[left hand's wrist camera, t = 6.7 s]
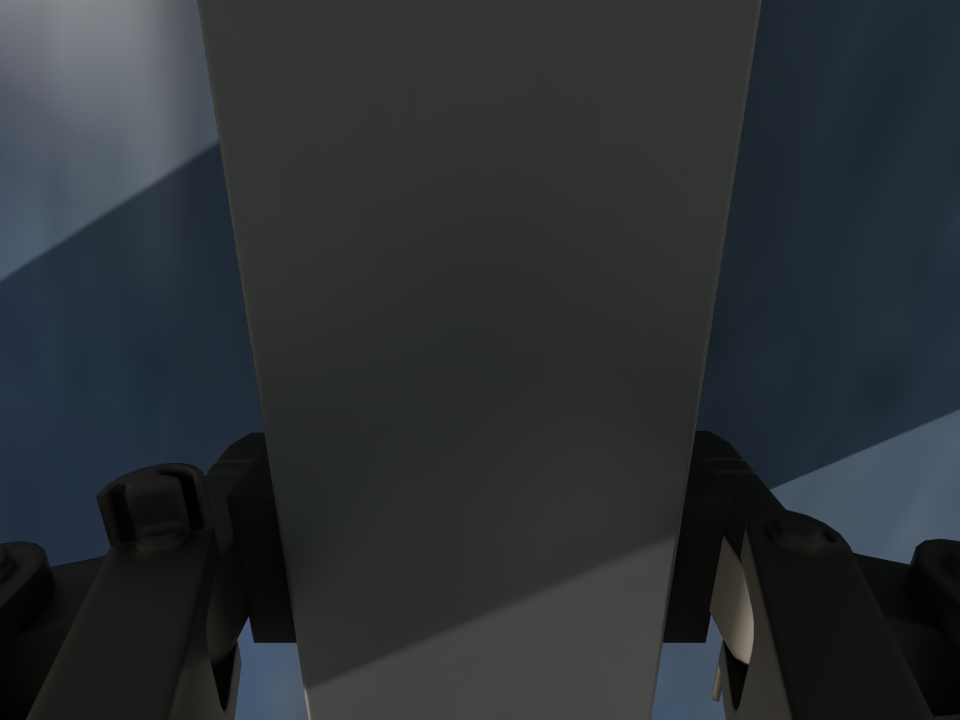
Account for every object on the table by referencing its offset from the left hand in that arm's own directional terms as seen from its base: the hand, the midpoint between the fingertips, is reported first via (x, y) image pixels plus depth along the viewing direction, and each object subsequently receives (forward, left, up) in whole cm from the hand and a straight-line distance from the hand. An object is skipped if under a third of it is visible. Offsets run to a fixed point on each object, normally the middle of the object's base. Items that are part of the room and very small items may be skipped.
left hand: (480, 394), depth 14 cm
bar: (+28, +6, -1) cm, 29 cm away
